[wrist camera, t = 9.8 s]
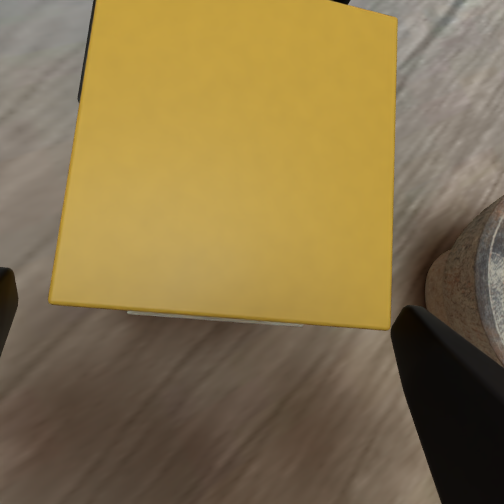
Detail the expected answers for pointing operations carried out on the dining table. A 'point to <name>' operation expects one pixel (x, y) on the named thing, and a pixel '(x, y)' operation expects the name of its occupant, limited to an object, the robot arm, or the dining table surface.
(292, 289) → the storage box
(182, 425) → the dining table surface
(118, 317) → the dining table surface
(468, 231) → the pottery
